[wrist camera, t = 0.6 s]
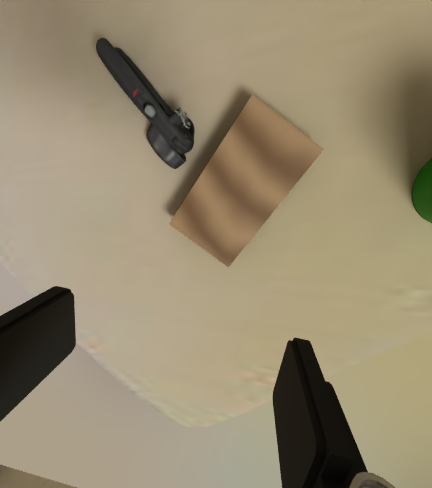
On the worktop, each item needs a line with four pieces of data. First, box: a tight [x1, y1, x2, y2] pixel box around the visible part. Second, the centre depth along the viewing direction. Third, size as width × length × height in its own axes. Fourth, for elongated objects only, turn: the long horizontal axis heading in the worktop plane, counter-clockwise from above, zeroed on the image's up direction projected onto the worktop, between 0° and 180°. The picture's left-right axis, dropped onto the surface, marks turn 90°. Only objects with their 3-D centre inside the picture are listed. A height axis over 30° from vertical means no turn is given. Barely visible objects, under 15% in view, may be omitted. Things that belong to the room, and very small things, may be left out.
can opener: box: [96, 38, 194, 169], centre depth 30 cm, size 18×7×6 cm, turn 37°
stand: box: [169, 94, 324, 267], centre depth 32 cm, size 20×11×3 cm, turn 145°
